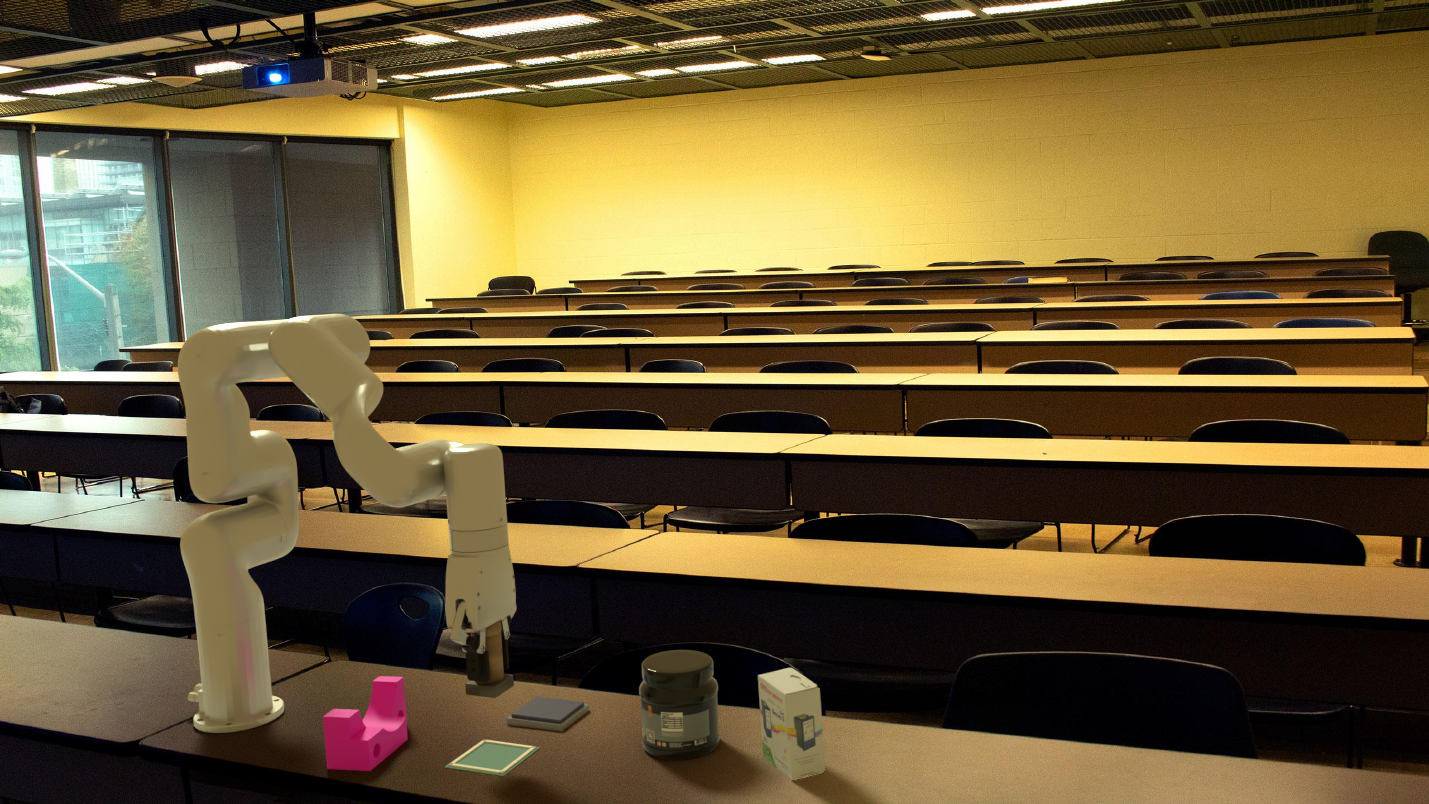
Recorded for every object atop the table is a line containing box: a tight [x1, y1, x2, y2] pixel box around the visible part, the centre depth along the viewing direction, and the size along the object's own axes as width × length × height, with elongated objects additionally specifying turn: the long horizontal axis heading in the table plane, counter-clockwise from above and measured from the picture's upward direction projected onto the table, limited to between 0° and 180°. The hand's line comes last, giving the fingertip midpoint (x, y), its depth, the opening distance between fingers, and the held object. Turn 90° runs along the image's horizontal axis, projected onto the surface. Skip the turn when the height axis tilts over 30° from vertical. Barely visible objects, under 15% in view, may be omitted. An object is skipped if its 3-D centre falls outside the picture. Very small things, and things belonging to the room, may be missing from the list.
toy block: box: [322, 675, 409, 772], centre depth 155 cm, size 15×6×8 cm, turn 168°
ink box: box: [757, 667, 826, 780], centre depth 143 cm, size 9×5×12 cm, turn 23°
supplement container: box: [638, 649, 720, 761], centre depth 151 cm, size 10×10×12 cm
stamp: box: [464, 621, 515, 699], centre depth 149 cm, size 4×4×10 cm
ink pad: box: [506, 695, 590, 732], centre depth 164 cm, size 9×8×2 cm
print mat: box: [444, 739, 541, 777], centre depth 150 cm, size 9×9×1 cm
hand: (488, 673), depth 149 cm, fingers closed on stamp, 3 cm apart
